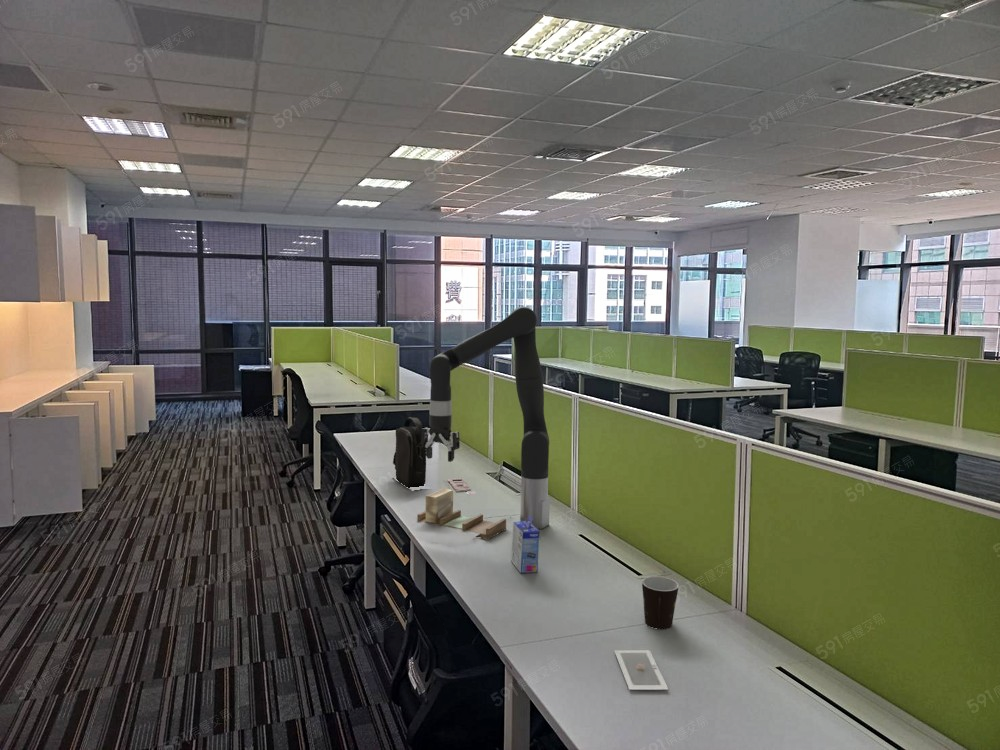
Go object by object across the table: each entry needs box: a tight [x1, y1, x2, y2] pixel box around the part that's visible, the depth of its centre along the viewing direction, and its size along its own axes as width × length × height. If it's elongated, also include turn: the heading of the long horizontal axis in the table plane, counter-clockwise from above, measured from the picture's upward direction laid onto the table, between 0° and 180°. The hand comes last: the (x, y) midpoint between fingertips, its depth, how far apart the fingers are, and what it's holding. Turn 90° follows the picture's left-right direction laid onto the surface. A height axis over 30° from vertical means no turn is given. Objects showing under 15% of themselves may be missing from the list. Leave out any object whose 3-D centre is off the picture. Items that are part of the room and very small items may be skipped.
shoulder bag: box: [392, 416, 427, 488], centre depth 282 cm, size 23×9×28 cm, turn 30°
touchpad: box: [613, 649, 669, 691], centre depth 142 cm, size 8×15×2 cm, turn 2°
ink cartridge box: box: [510, 516, 540, 574], centre depth 196 cm, size 10×6×14 cm, turn 15°
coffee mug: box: [641, 575, 679, 630], centre depth 162 cm, size 12×9×10 cm
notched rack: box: [416, 509, 507, 540], centre depth 230 cm, size 28×12×4 cm, turn 62°
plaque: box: [447, 478, 477, 495], centre depth 277 cm, size 34×1×10 cm
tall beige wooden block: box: [425, 487, 454, 524], centre depth 234 cm, size 4×11×9 cm, turn 152°
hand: (439, 459), depth 232 cm, fingers open, 8 cm apart
